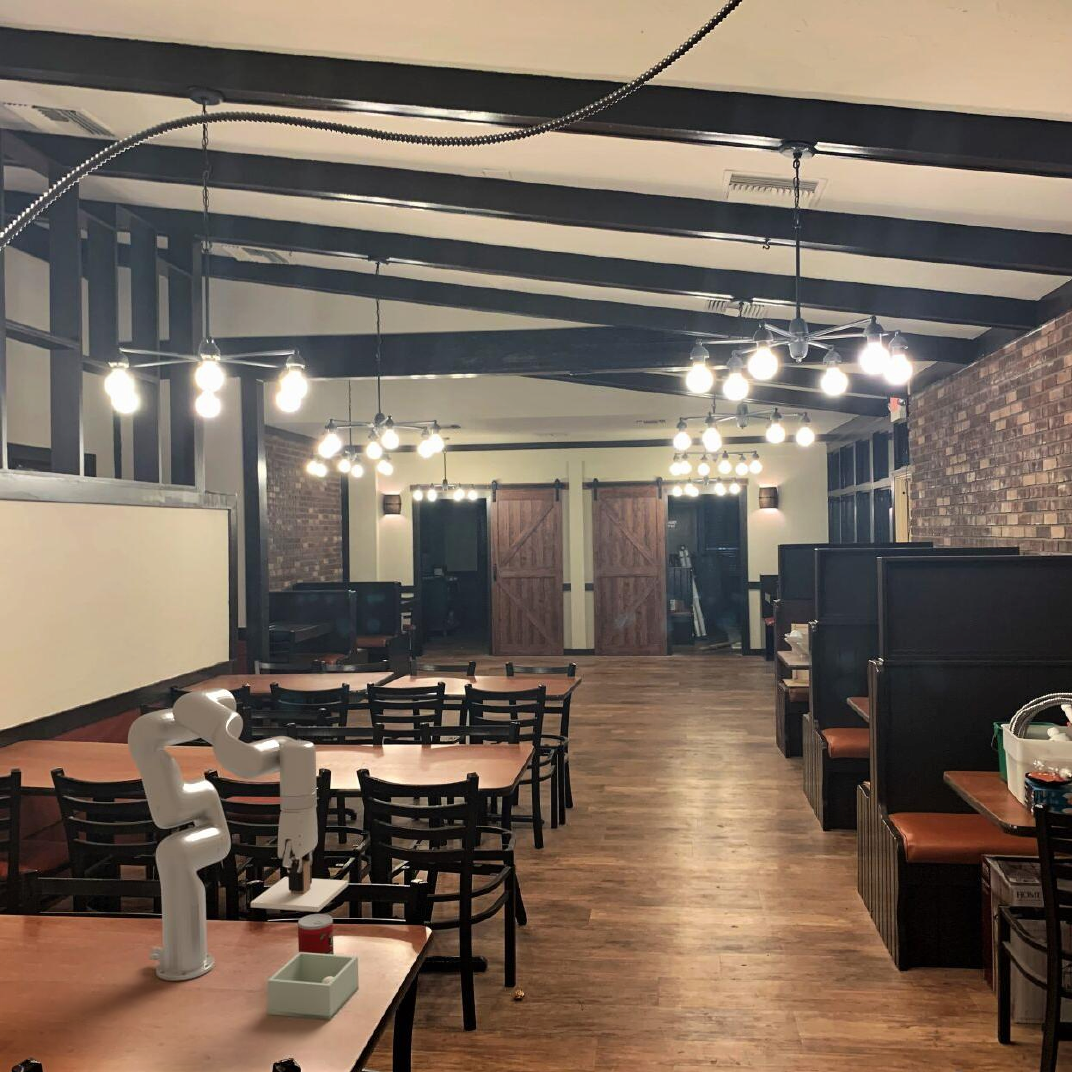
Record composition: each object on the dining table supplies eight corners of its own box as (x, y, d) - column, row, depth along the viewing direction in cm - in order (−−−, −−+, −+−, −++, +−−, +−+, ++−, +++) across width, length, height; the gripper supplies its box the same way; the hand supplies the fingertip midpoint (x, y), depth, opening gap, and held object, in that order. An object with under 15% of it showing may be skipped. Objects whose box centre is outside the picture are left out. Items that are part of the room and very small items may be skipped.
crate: (268, 1014, 199) (267, 980, 199) (300, 983, 213) (299, 951, 213) (330, 1020, 196) (329, 985, 196) (358, 988, 209) (357, 956, 209)
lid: (250, 907, 197) (250, 873, 197) (284, 881, 212) (284, 849, 212) (318, 911, 194) (317, 877, 194) (348, 885, 209) (347, 853, 209)
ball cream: (318, 997, 204) (317, 980, 204) (325, 989, 208) (325, 972, 208) (333, 998, 203) (333, 981, 203) (340, 990, 207) (340, 974, 207)
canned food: (325, 976, 216) (324, 927, 216) (293, 974, 218) (291, 925, 218) (339, 961, 223) (338, 914, 224) (307, 959, 225) (306, 912, 225)
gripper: (299, 789, 212) (301, 873, 212) (263, 810, 196) (265, 900, 196) (331, 791, 210) (333, 874, 210) (297, 812, 194) (299, 903, 194)
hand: (300, 886), depth 203 cm, fingers closed on lid, 3 cm apart
